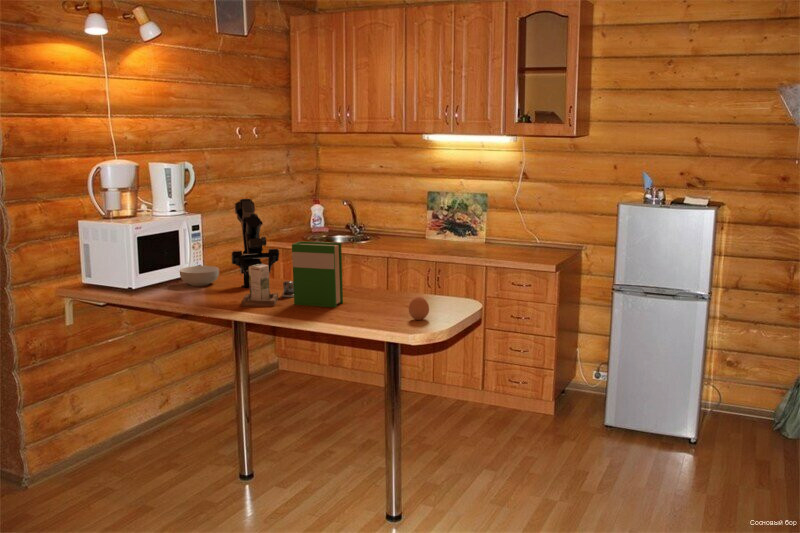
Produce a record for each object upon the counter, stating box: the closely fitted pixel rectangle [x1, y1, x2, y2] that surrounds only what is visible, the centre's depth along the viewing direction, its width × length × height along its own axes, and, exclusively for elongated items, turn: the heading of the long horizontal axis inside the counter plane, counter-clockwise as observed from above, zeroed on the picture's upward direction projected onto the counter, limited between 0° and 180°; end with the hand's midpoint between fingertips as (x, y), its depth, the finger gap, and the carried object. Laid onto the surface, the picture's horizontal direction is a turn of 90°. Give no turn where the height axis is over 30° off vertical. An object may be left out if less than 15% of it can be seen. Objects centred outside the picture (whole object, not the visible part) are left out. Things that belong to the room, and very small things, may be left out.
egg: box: [408, 295, 430, 321], centre depth 279 cm, size 7×7×8 cm
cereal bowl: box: [179, 265, 220, 287], centre depth 345 cm, size 17×17×7 cm
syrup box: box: [248, 263, 271, 300], centre depth 308 cm, size 6×6×14 cm
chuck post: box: [281, 280, 294, 299], centre depth 319 cm, size 6×6×6 cm
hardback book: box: [291, 240, 344, 308], centre depth 304 cm, size 18×7×24 cm, turn 71°
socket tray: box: [240, 293, 279, 308], centre depth 309 cm, size 13×13×2 cm
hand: (257, 273), depth 311 cm, fingers open, 9 cm apart
